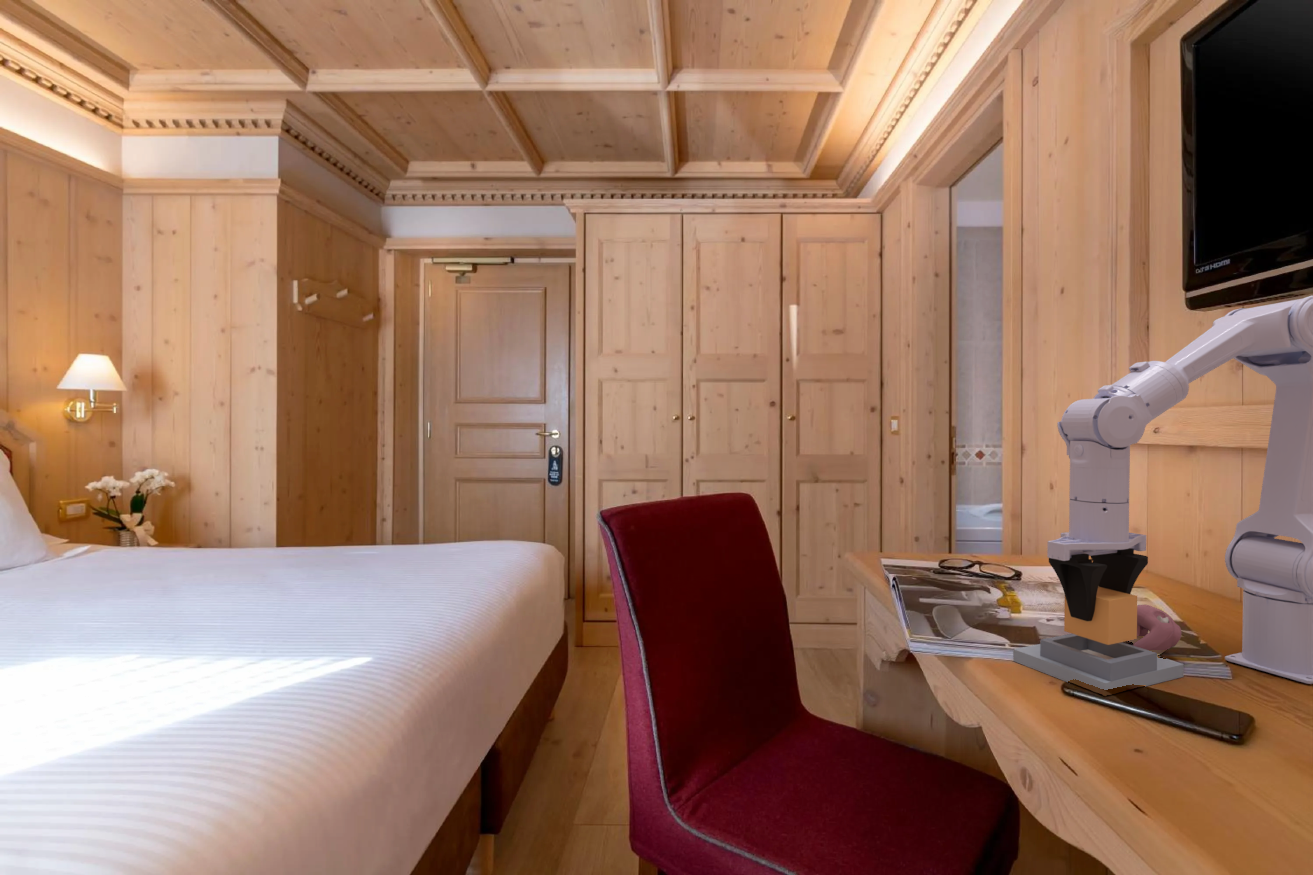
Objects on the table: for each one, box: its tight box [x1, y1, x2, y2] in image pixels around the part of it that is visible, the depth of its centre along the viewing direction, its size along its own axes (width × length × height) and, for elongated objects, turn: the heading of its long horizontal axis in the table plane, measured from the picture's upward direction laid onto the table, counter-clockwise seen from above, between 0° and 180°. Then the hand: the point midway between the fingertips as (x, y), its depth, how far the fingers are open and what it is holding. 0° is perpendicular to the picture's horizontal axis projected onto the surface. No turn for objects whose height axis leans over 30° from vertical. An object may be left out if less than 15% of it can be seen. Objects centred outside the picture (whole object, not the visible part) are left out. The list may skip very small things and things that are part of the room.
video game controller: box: [1132, 604, 1182, 651], centre depth 81 cm, size 10×5×7 cm, turn 169°
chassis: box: [1012, 633, 1185, 690], centre depth 75 cm, size 14×11×4 cm
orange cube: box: [1063, 586, 1138, 645], centre depth 72 cm, size 5×5×5 cm
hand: (1097, 615), depth 73 cm, fingers closed on orange cube, 5 cm apart
